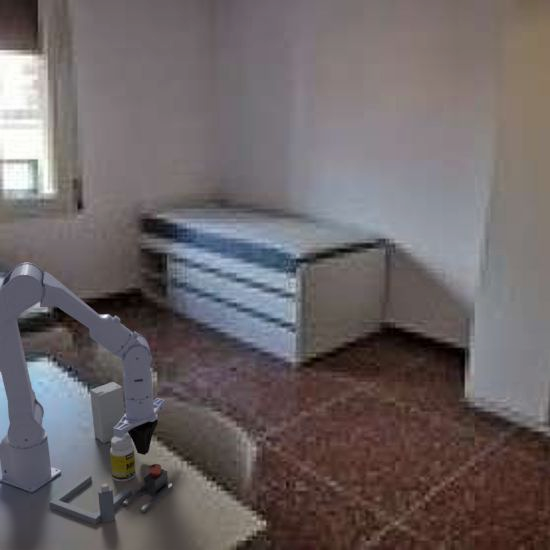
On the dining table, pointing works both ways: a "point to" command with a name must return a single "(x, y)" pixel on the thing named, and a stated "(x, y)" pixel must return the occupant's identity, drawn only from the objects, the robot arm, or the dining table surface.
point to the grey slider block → (155, 480)
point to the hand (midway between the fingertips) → (142, 452)
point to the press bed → (105, 502)
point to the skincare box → (106, 410)
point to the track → (152, 501)
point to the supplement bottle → (122, 458)
